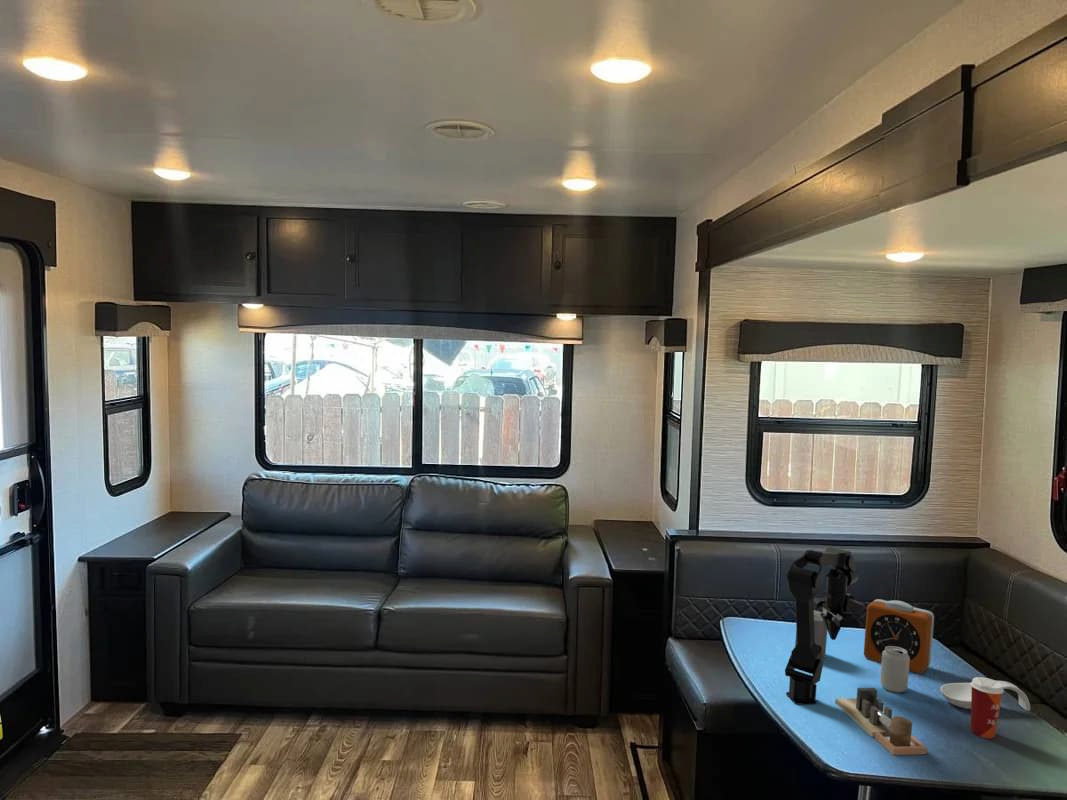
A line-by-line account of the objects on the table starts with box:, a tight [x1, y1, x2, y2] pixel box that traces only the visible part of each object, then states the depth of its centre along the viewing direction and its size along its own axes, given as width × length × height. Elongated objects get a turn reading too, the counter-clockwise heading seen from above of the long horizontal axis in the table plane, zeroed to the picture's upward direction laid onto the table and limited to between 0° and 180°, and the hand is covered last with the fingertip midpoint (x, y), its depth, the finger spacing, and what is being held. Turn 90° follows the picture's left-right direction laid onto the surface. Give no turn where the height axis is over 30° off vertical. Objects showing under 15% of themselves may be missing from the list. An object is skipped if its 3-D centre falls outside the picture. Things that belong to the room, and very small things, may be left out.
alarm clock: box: [863, 598, 935, 674], centre depth 252 cm, size 18×9×21 cm, turn 49°
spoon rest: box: [939, 680, 1031, 712], centre depth 225 cm, size 24×12×7 cm, turn 88°
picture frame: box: [875, 733, 928, 756], centre depth 199 cm, size 9×8×2 cm
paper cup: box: [969, 676, 1005, 739], centre depth 208 cm, size 8×8×14 cm
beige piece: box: [834, 697, 893, 738], centre depth 214 cm, size 10×19×5 cm, turn 7°
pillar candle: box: [794, 609, 828, 661], centre depth 256 cm, size 10×10×15 cm
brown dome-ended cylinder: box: [889, 715, 913, 747], centre depth 200 cm, size 5×5×6 cm
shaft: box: [856, 687, 892, 731], centre depth 210 cm, size 5×14×6 cm, turn 7°
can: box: [879, 646, 910, 694], centre depth 233 cm, size 8×8×12 cm
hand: (833, 639), depth 239 cm, fingers closed
